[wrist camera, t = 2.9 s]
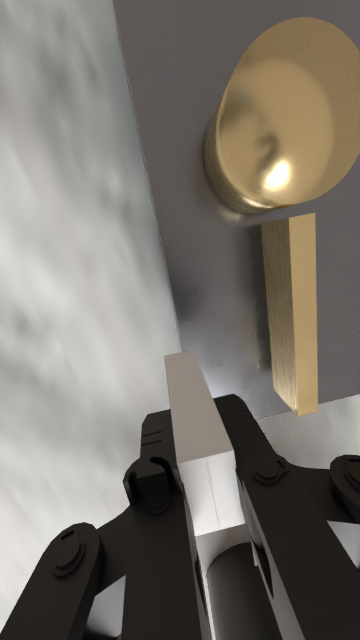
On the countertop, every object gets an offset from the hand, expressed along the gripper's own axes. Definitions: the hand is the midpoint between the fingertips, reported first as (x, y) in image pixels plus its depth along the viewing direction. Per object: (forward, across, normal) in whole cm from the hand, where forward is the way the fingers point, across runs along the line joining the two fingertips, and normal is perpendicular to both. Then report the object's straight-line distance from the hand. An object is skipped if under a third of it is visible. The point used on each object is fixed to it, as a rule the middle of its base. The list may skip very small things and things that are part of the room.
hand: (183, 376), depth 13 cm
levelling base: (+5, +12, +5) cm, 14 cm away
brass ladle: (+3, +6, +5) cm, 9 cm away
